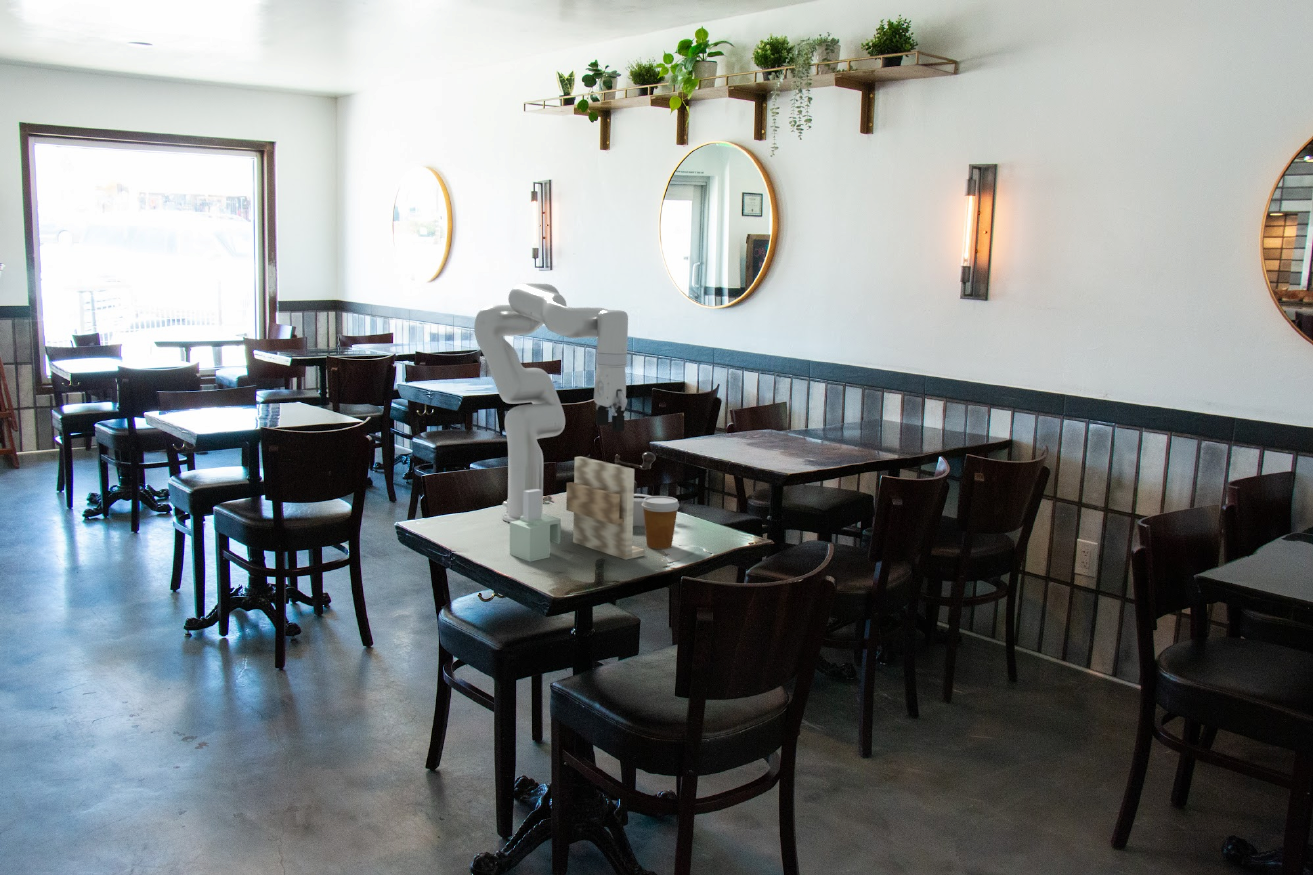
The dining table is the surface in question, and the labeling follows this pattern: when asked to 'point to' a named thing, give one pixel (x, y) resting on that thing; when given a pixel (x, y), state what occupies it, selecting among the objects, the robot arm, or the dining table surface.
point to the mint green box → (533, 529)
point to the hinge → (638, 510)
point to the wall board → (603, 507)
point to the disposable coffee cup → (660, 520)
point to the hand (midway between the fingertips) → (609, 428)
